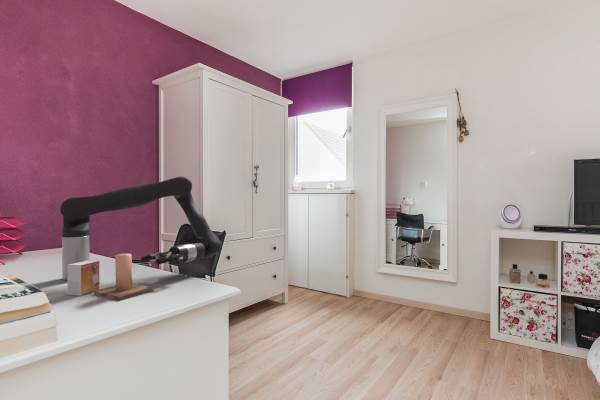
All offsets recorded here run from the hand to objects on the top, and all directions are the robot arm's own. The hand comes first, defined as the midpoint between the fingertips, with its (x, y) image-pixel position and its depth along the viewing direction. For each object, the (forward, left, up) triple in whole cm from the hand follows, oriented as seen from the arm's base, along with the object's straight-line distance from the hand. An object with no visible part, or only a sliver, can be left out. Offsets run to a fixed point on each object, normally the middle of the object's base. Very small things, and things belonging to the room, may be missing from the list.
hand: (148, 260), depth 121 cm
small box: (-13, -16, -10) cm, 23 cm away
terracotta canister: (0, -10, -8) cm, 13 cm away
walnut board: (0, -10, -9) cm, 14 cm away
